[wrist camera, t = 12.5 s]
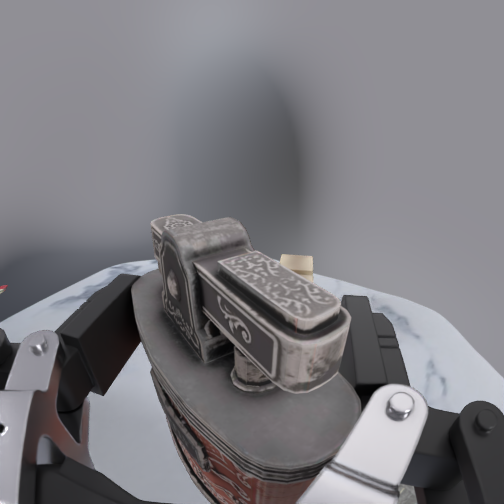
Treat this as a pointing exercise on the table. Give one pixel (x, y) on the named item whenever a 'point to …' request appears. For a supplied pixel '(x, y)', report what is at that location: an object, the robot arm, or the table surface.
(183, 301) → the lighter
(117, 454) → the table surface
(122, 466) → the table surface
